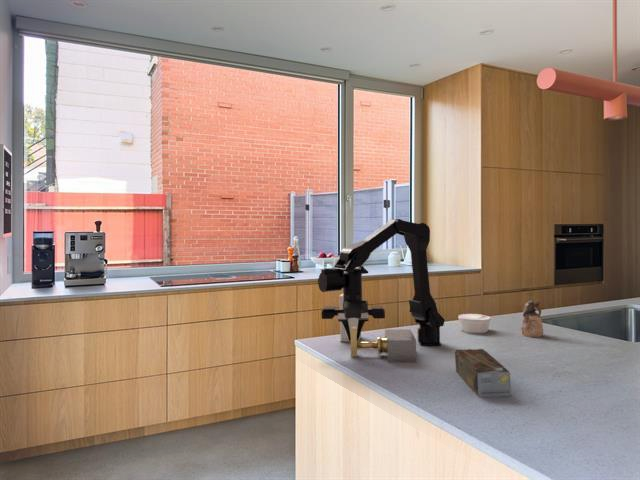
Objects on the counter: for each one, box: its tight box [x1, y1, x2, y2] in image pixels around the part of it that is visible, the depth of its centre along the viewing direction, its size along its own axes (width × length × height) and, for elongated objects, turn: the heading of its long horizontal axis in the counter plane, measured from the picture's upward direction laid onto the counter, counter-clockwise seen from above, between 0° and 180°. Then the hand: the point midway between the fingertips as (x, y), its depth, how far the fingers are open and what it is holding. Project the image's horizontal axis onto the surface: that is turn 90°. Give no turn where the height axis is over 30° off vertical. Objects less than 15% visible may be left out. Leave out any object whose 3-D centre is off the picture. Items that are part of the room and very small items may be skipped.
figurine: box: [520, 300, 544, 338], centre depth 166 cm, size 7×7×12 cm
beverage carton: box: [454, 348, 512, 398], centre depth 118 cm, size 8×19×7 cm, turn 179°
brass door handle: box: [350, 327, 387, 358], centre depth 143 cm, size 14×5×8 cm, turn 86°
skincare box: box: [338, 293, 362, 343], centre depth 165 cm, size 8×7×16 cm
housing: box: [384, 328, 417, 364], centre depth 143 cm, size 8×14×6 cm, turn 176°
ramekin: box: [457, 313, 492, 334], centre depth 175 cm, size 11×11×5 cm
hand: (353, 340), depth 144 cm, fingers closed on brass door handle, 2 cm apart
